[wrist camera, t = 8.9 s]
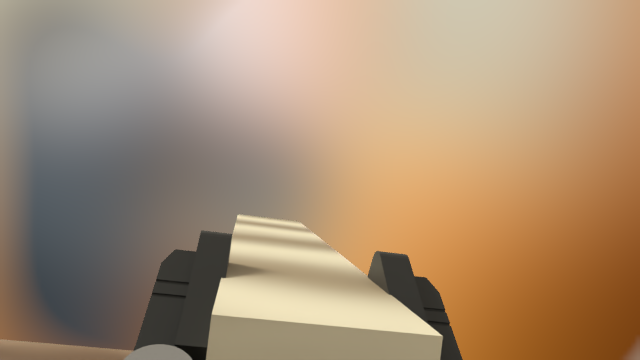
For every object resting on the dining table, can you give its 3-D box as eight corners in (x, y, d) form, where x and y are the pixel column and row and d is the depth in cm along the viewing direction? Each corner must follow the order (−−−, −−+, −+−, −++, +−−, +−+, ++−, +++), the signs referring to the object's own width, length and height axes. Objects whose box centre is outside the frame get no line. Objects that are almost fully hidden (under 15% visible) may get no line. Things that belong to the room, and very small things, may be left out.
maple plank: (231, 267, 32) (238, 214, 32) (292, 273, 32) (299, 221, 32) (185, 522, 8) (211, 314, 8) (419, 533, 9) (443, 336, 9)
